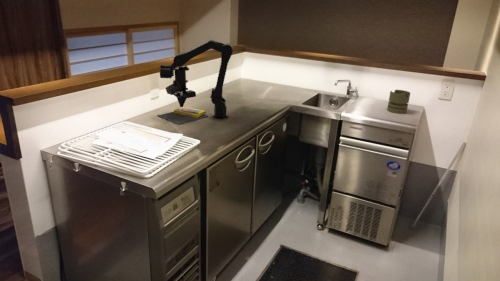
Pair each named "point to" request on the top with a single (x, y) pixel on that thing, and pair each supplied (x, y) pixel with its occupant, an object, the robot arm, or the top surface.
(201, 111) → the candy box
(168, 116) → the mat
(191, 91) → the robot arm
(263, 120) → the top surface
